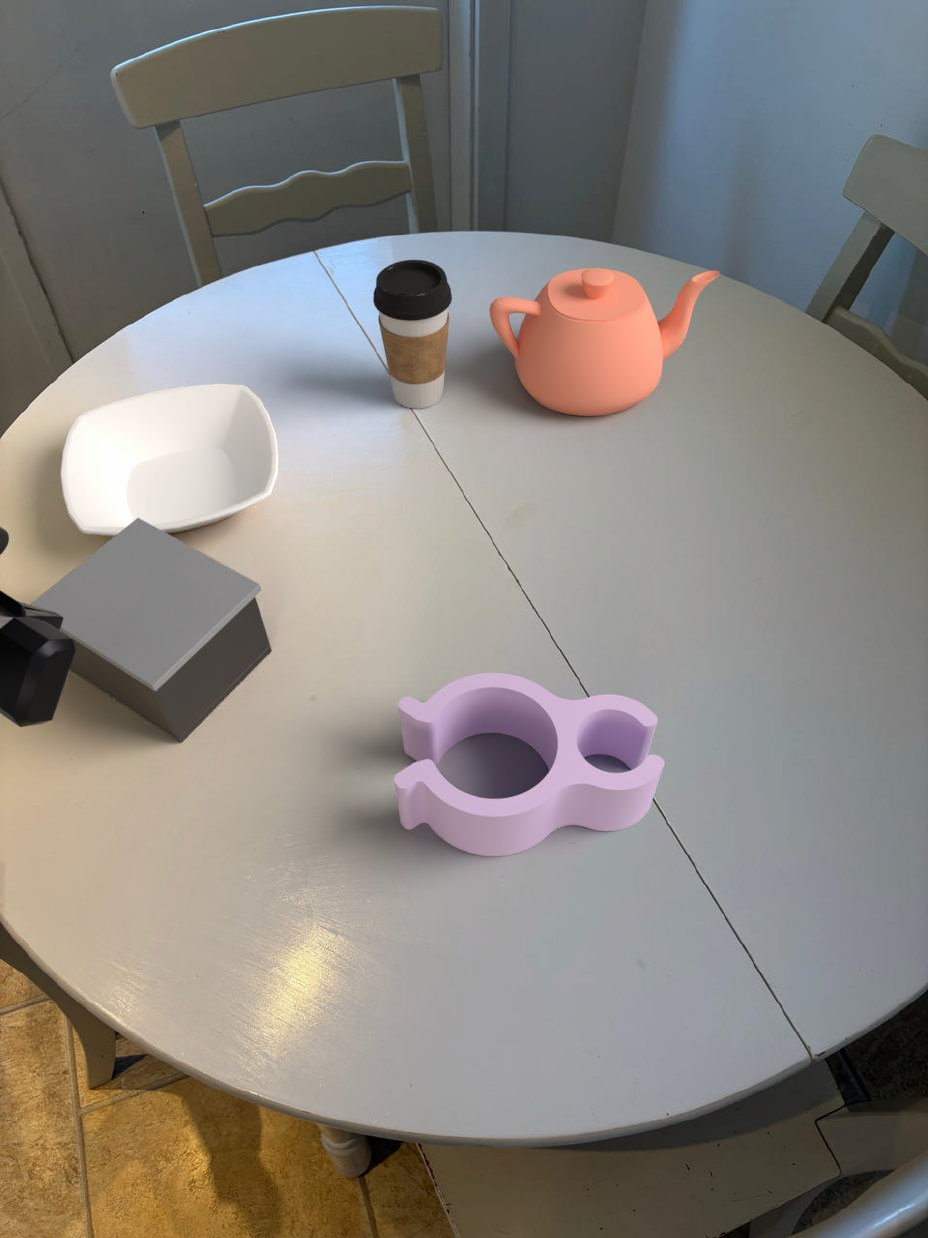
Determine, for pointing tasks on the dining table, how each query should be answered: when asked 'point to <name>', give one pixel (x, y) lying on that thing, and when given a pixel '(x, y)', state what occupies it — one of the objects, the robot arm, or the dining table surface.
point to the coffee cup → (414, 329)
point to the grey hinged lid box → (185, 676)
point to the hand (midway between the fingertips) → (58, 621)
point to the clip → (554, 734)
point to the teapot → (593, 339)
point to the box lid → (147, 602)
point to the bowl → (169, 459)
